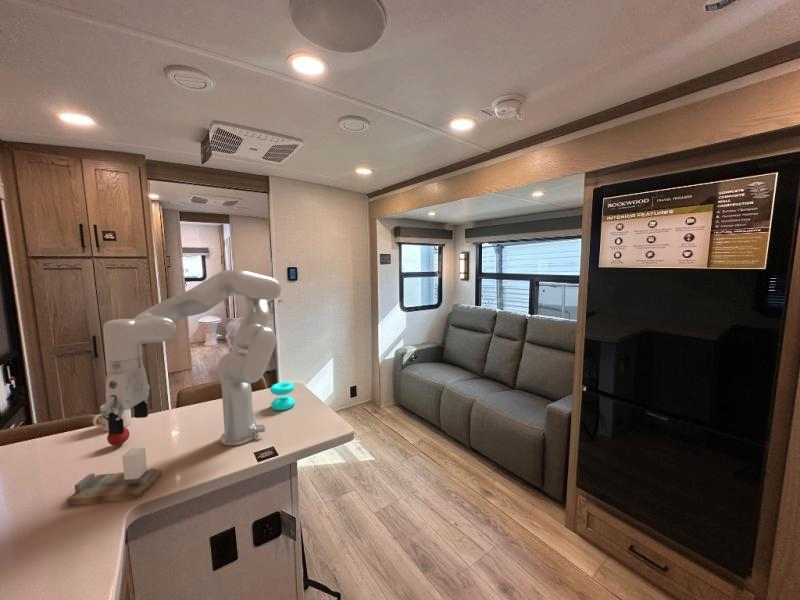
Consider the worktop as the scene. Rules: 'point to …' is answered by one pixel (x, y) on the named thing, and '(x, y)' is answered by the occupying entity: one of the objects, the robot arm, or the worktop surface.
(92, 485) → the wooden slider board
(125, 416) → the teacup with lid
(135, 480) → the fader
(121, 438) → the onion
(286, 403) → the donuts
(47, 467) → the worktop surface
